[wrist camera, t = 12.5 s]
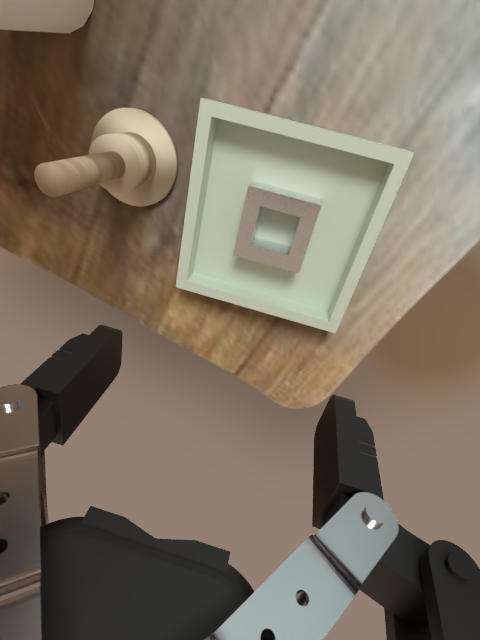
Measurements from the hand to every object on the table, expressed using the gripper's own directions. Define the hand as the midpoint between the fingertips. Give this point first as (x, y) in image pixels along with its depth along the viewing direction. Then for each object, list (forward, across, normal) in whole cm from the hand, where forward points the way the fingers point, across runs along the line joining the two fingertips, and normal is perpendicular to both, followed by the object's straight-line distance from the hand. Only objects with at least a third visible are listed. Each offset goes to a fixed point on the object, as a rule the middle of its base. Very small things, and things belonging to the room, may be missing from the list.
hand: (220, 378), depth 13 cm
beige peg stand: (+23, +14, -2) cm, 27 cm away
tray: (+22, 0, 0) cm, 23 cm away
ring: (+22, 0, 0) cm, 22 cm away
